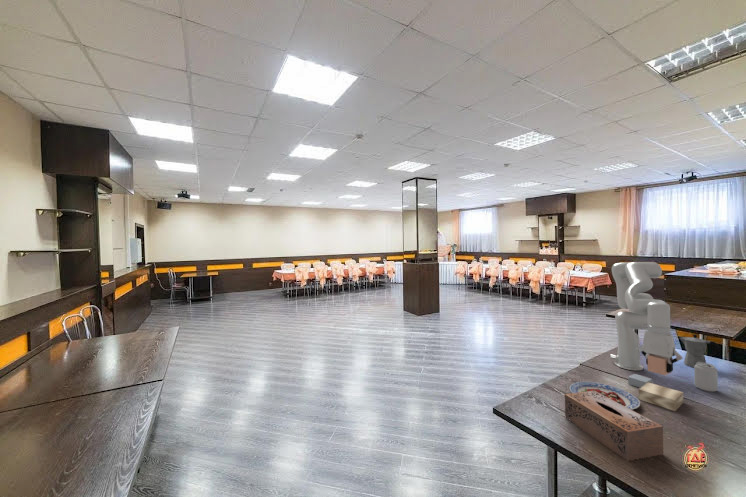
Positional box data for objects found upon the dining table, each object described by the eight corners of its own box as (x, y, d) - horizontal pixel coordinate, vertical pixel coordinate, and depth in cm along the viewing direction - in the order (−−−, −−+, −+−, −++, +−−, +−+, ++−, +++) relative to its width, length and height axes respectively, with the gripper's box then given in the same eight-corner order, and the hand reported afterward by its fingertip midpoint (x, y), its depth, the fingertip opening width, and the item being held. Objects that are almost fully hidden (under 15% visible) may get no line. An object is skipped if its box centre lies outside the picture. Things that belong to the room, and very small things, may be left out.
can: (722, 393, 141) (722, 367, 141) (703, 392, 143) (703, 366, 143) (708, 385, 149) (708, 361, 149) (690, 384, 150) (690, 360, 150)
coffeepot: (677, 364, 175) (677, 333, 174) (680, 360, 180) (680, 330, 180) (717, 373, 162) (717, 339, 162) (719, 368, 168) (719, 336, 168)
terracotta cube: (647, 370, 138) (647, 355, 138) (653, 368, 140) (653, 353, 140) (665, 375, 132) (664, 359, 132) (671, 372, 135) (670, 357, 135)
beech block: (638, 400, 138) (638, 389, 138) (648, 392, 144) (648, 382, 144) (675, 412, 128) (674, 400, 128) (683, 403, 134) (683, 392, 134)
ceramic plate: (641, 397, 140) (641, 391, 140) (638, 422, 121) (638, 414, 121) (575, 381, 157) (575, 375, 157) (564, 400, 139) (564, 394, 139)
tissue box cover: (663, 455, 102) (662, 426, 102) (627, 461, 100) (627, 431, 99) (594, 413, 127) (594, 390, 127) (565, 418, 125) (564, 394, 125)
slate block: (628, 384, 152) (628, 376, 152) (634, 381, 156) (634, 373, 156) (645, 390, 146) (645, 382, 146) (652, 386, 149) (652, 378, 149)
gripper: (631, 326, 142) (631, 364, 142) (681, 335, 127) (681, 378, 127) (639, 324, 146) (639, 361, 146) (688, 333, 130) (689, 374, 130)
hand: (659, 369), depth 136 cm, fingers closed on terracotta cube, 6 cm apart
